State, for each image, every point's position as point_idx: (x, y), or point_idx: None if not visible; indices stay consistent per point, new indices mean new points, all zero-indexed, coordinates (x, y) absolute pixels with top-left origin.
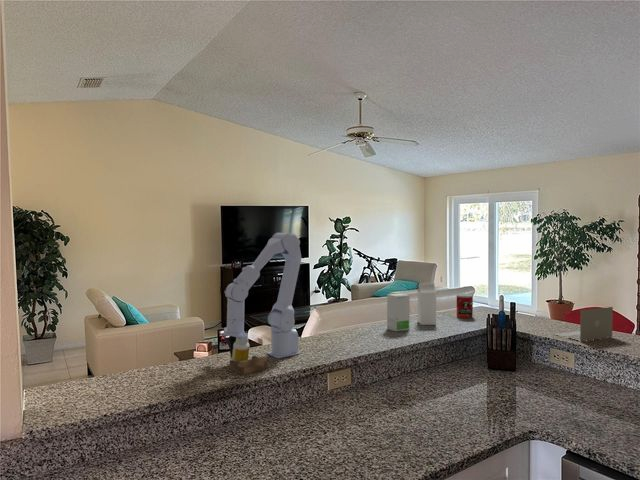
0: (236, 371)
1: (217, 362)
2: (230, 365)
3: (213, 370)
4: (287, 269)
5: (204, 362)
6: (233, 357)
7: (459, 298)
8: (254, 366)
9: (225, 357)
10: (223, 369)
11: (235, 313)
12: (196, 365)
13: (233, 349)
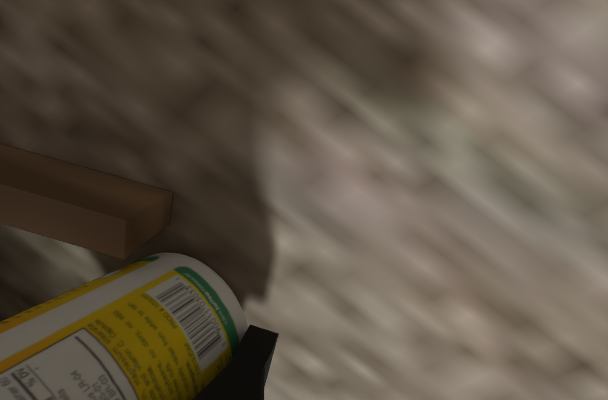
0: (17, 153)
1: (437, 248)
2: (131, 197)
3: (241, 40)
4: None
5: (585, 161)
6: (112, 289)
7: None
8: None
9: (495, 394)
10: (192, 136)
11: None
12: (592, 9)
13: (7, 363)
